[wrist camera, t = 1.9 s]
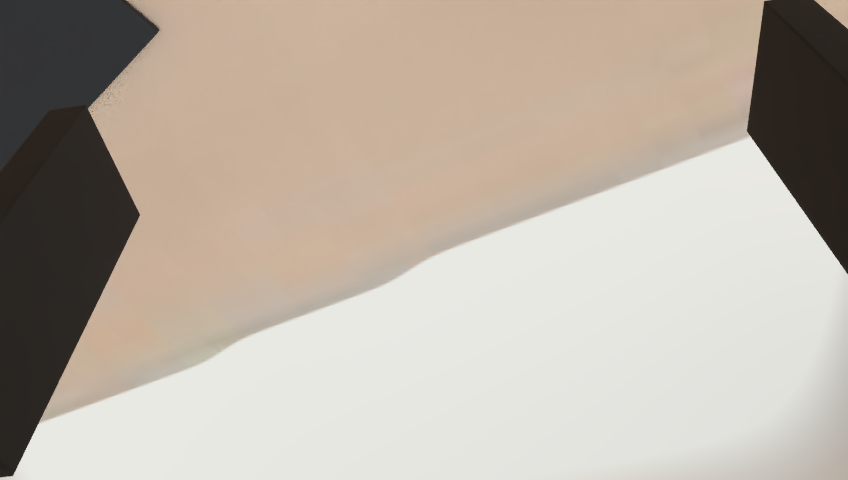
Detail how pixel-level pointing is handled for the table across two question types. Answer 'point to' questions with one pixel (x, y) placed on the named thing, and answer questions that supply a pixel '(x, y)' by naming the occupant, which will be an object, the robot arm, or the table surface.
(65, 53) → the mat
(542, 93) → the table surface
